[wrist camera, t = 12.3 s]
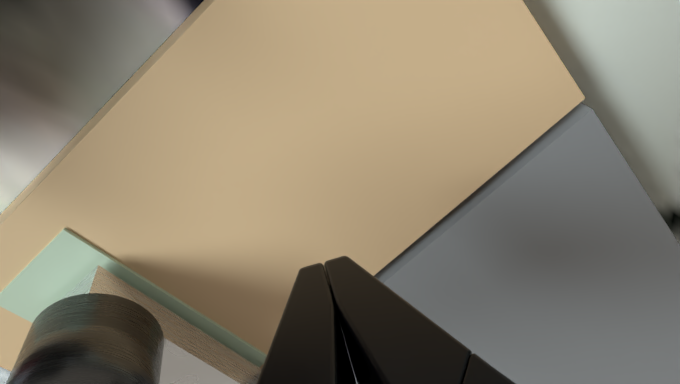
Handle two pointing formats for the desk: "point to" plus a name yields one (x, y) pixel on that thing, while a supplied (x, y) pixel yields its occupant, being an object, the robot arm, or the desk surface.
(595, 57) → the desk surface
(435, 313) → the door board
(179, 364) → the door handle
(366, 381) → the robot arm
